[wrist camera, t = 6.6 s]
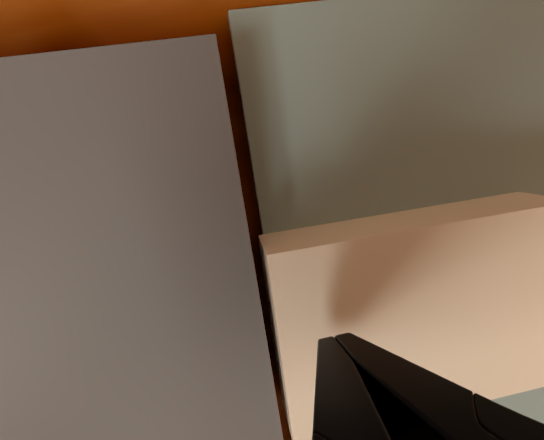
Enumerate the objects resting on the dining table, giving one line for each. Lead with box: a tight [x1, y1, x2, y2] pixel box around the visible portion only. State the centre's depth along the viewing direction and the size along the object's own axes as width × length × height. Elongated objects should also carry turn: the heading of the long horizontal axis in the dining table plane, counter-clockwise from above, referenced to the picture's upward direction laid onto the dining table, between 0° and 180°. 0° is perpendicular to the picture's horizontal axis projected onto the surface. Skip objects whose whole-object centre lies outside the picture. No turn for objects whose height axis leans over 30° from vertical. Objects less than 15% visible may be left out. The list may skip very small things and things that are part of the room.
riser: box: [0, 34, 284, 440], centre depth 10 cm, size 16×12×2 cm
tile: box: [258, 192, 544, 440], centre depth 11 cm, size 9×6×2 cm, turn 98°
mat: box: [228, 0, 544, 423], centre depth 12 cm, size 18×13×1 cm
